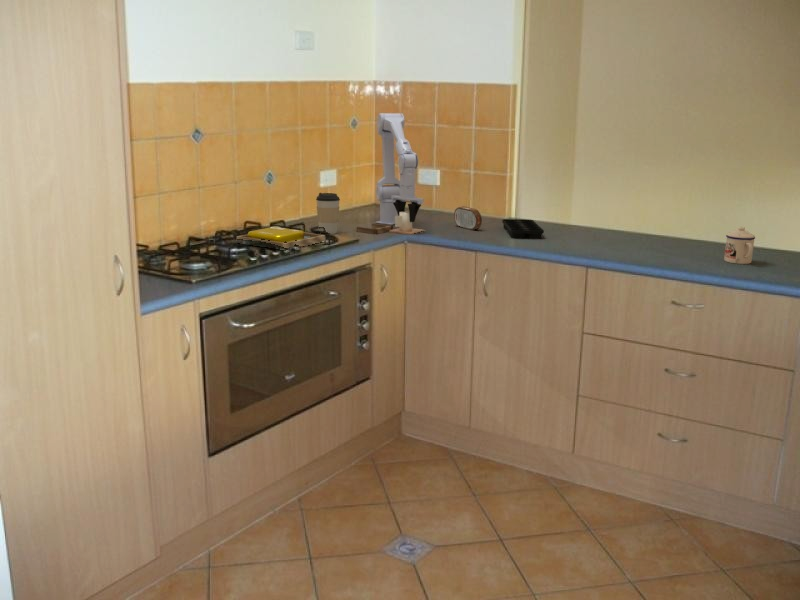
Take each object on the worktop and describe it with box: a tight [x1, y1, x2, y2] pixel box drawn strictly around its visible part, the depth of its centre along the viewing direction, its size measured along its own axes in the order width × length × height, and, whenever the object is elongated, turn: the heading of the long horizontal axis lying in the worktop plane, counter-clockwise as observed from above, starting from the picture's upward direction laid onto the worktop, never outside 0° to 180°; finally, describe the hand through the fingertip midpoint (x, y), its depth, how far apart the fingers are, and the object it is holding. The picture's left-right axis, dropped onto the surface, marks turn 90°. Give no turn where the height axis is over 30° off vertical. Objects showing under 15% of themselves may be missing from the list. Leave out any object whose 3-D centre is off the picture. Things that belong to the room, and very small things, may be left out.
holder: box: [356, 223, 394, 235], centre depth 334 cm, size 11×9×2 cm
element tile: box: [247, 226, 305, 243], centre depth 306 cm, size 15×15×5 cm
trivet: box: [388, 227, 426, 236], centre depth 334 cm, size 10×10×1 cm
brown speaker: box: [453, 205, 483, 231], centre depth 344 cm, size 15×3×8 cm, turn 34°
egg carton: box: [501, 218, 545, 240], centre depth 338 cm, size 18×30×4 cm, turn 13°
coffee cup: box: [315, 192, 341, 235], centre depth 327 cm, size 9×9×15 cm
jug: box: [394, 210, 413, 231], centre depth 332 cm, size 8×5×7 cm, turn 131°
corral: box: [236, 231, 326, 248], centre depth 305 cm, size 22×22×2 cm
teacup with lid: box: [723, 226, 756, 265], centre depth 287 cm, size 12×9×12 cm
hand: (406, 220), depth 333 cm, fingers closed on jug, 5 cm apart
